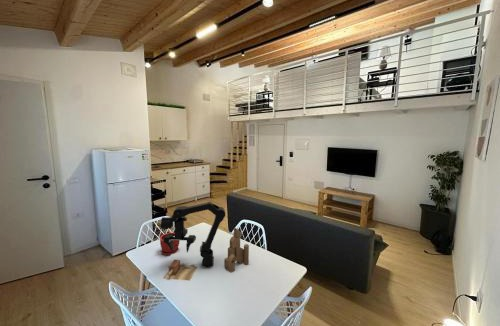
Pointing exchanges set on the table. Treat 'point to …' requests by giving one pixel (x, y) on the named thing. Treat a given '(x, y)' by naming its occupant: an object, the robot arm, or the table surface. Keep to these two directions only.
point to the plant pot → (166, 248)
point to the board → (183, 272)
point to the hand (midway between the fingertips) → (180, 251)
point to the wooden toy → (236, 252)
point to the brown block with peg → (174, 267)
